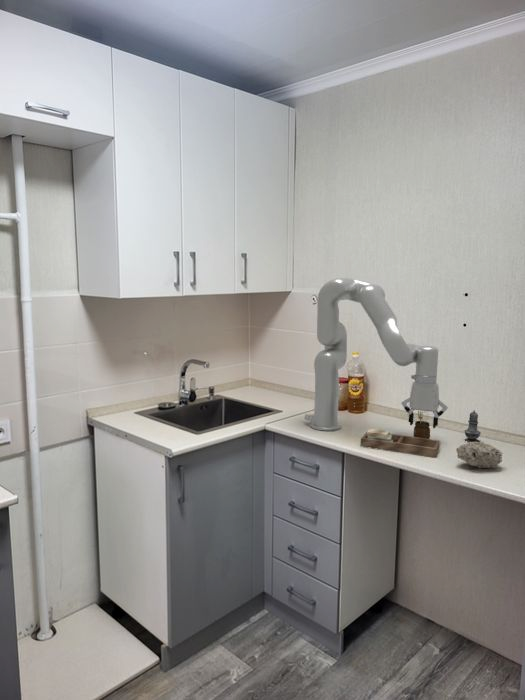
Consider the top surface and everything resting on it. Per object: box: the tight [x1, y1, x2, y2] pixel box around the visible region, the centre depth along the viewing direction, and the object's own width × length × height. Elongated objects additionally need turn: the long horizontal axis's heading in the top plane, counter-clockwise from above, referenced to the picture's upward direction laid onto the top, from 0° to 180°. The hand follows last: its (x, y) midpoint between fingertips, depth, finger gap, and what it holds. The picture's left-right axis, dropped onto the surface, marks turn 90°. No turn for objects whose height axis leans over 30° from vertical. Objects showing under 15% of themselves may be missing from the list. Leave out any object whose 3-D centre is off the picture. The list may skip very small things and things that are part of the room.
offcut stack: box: [366, 428, 393, 442], centre depth 196 cm, size 9×7×5 cm
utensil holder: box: [412, 410, 431, 439], centre depth 201 cm, size 6×6×12 cm
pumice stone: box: [456, 441, 503, 469], centre depth 175 cm, size 14×12×8 cm
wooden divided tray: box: [360, 431, 441, 458], centre depth 193 cm, size 26×11×3 cm, turn 66°
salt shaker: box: [463, 409, 481, 443], centre depth 203 cm, size 6×6×12 cm
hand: (422, 425), depth 201 cm, fingers open, 7 cm apart
